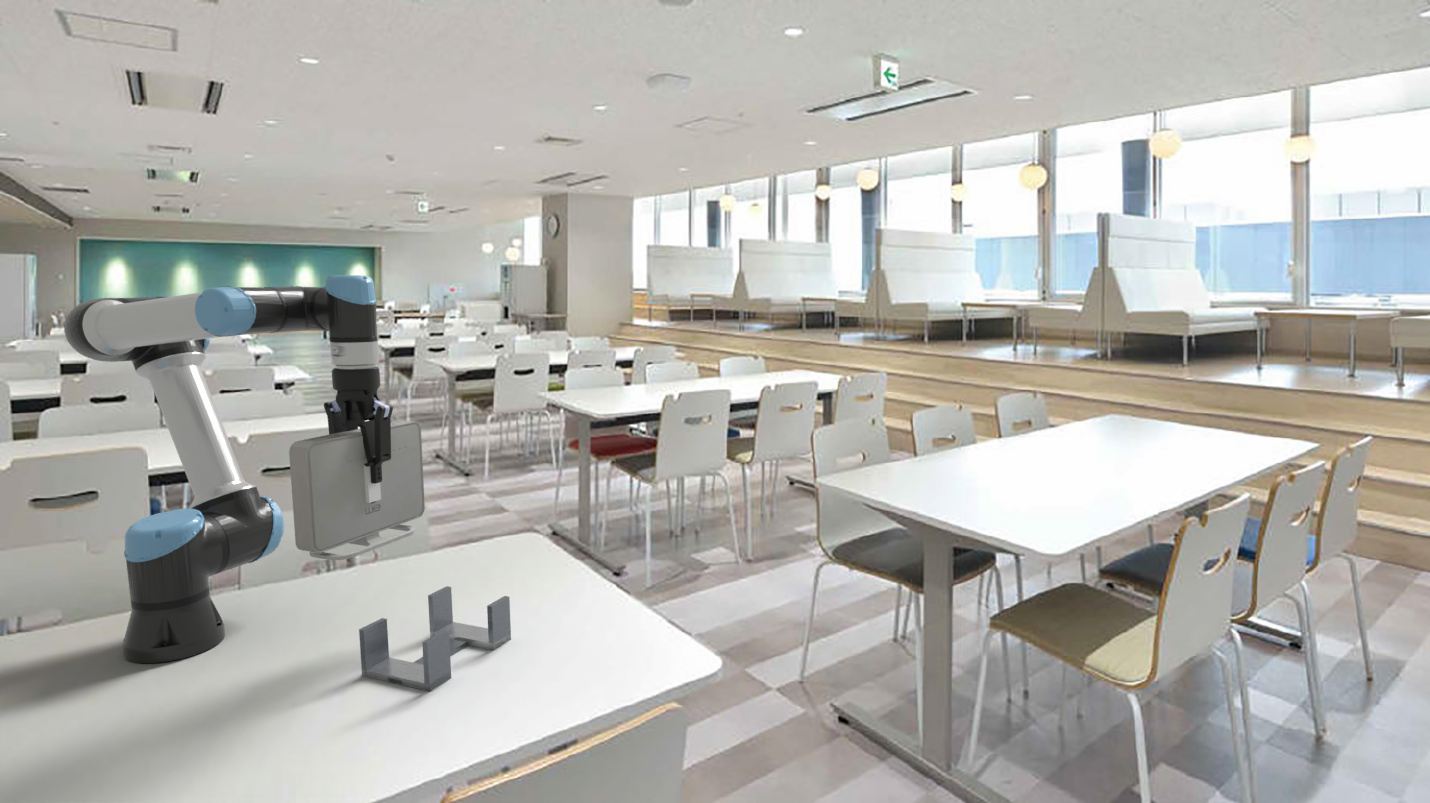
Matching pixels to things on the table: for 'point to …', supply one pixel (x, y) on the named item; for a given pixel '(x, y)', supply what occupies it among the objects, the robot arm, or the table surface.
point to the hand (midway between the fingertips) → (363, 499)
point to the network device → (354, 491)
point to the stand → (432, 643)
